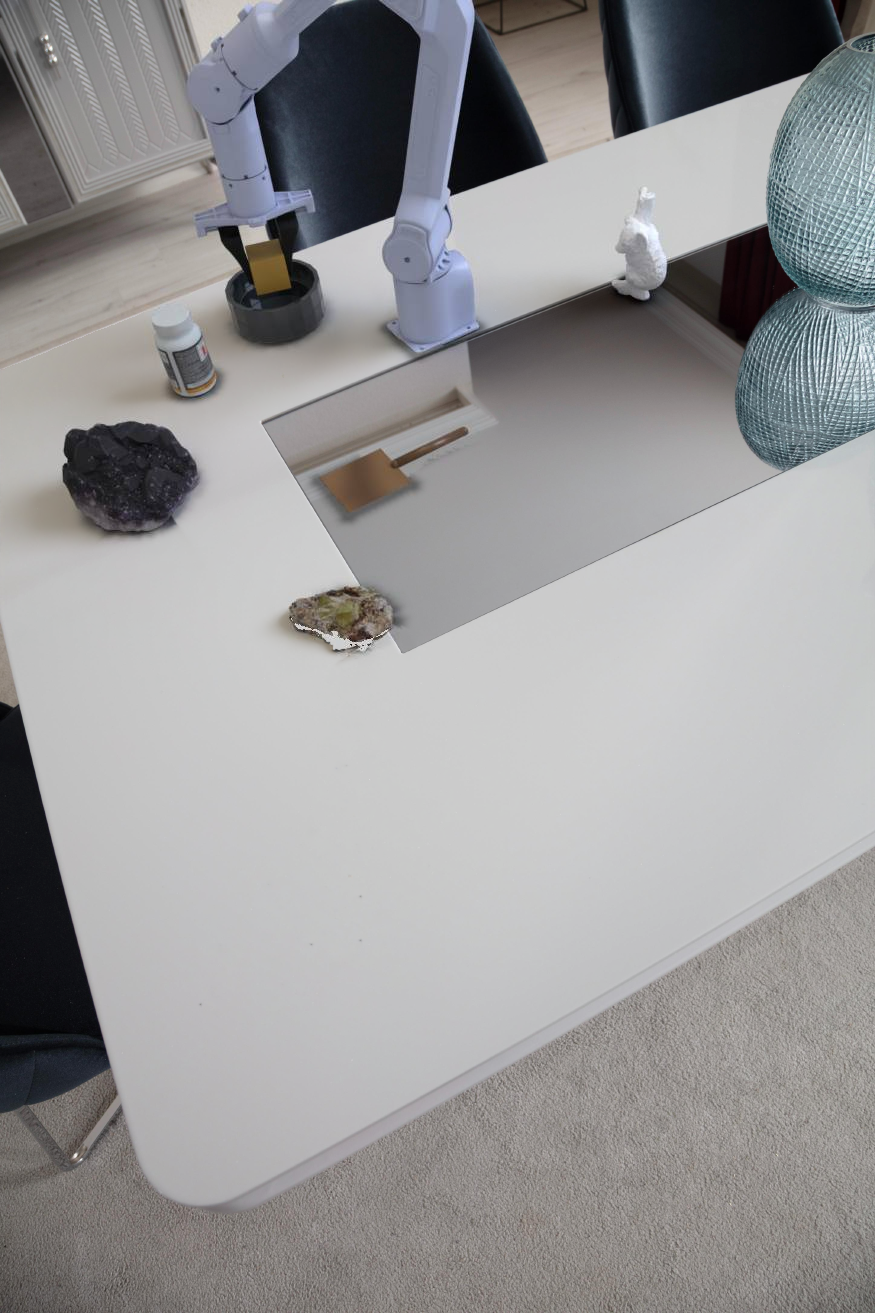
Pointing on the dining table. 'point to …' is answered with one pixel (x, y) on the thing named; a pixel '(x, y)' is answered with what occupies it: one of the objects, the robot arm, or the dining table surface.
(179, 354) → the pill bottle
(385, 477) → the wooden spatula
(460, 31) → the robot arm
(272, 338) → the grey round bowl
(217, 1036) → the dining table surface
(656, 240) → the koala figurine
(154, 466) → the crystal cluster
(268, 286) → the yellow cube block
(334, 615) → the mineral rock
